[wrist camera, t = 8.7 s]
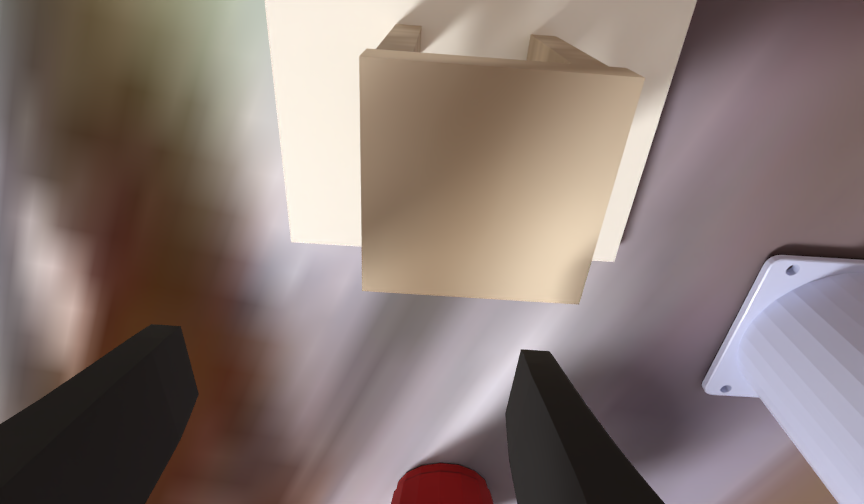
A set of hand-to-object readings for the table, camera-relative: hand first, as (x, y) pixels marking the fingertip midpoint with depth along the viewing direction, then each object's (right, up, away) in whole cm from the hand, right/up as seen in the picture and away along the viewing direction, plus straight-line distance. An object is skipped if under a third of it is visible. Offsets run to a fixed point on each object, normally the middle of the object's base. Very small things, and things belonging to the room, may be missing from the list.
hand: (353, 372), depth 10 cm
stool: (+3, +7, +6) cm, 10 cm away
